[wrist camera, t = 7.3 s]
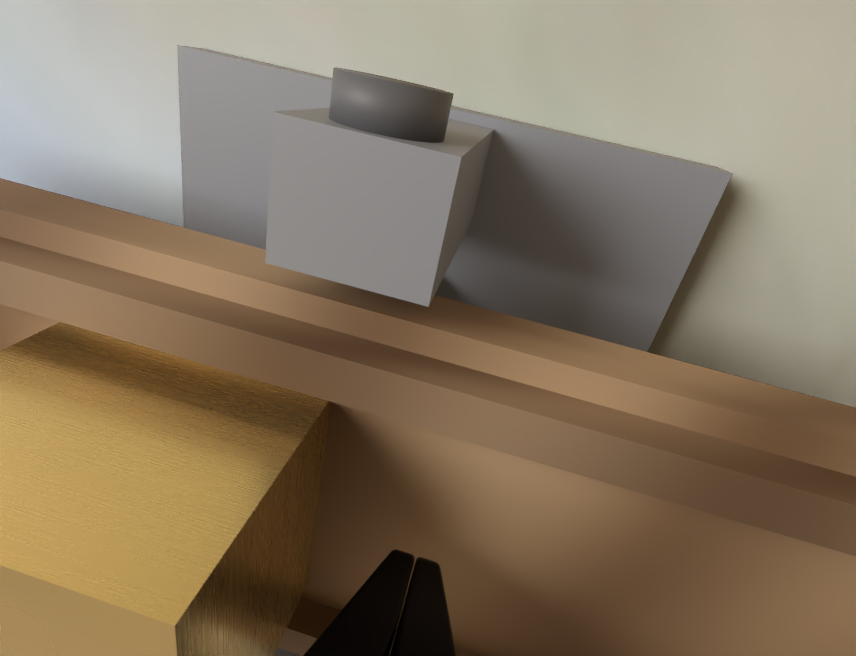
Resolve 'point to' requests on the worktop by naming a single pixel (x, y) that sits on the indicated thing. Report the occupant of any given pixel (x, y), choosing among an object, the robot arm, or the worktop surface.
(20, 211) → the balance beam
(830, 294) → the worktop surface
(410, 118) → the pivot stand
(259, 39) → the worktop surface
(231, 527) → the block
